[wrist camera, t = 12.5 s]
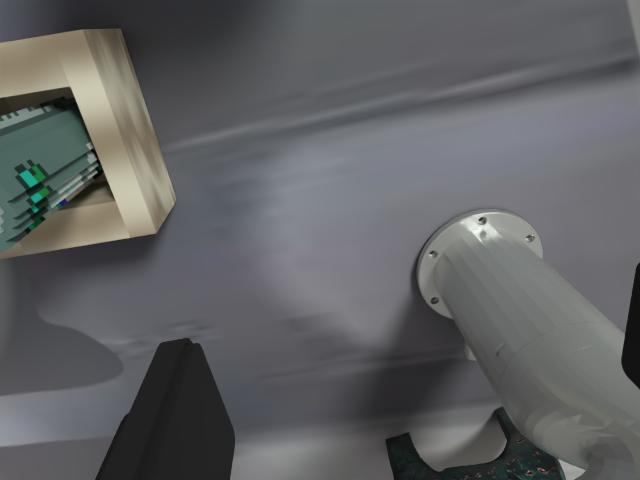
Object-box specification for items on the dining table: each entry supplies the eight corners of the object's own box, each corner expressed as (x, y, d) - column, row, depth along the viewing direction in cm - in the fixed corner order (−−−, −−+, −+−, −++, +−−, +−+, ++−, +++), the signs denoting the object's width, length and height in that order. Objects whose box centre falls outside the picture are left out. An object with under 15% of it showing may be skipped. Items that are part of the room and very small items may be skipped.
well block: (176, 200, 38) (156, 233, 32) (45, 222, 38) (0, 259, 32) (120, 28, 32) (82, 29, 26) (-37, 54, 32) (-112, 61, 26)
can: (74, 185, 36) (-50, 279, 23) (21, 120, 34) (-153, 183, 20) (134, 153, 35) (42, 231, 22) (84, 84, 33) (-54, 124, 19)
